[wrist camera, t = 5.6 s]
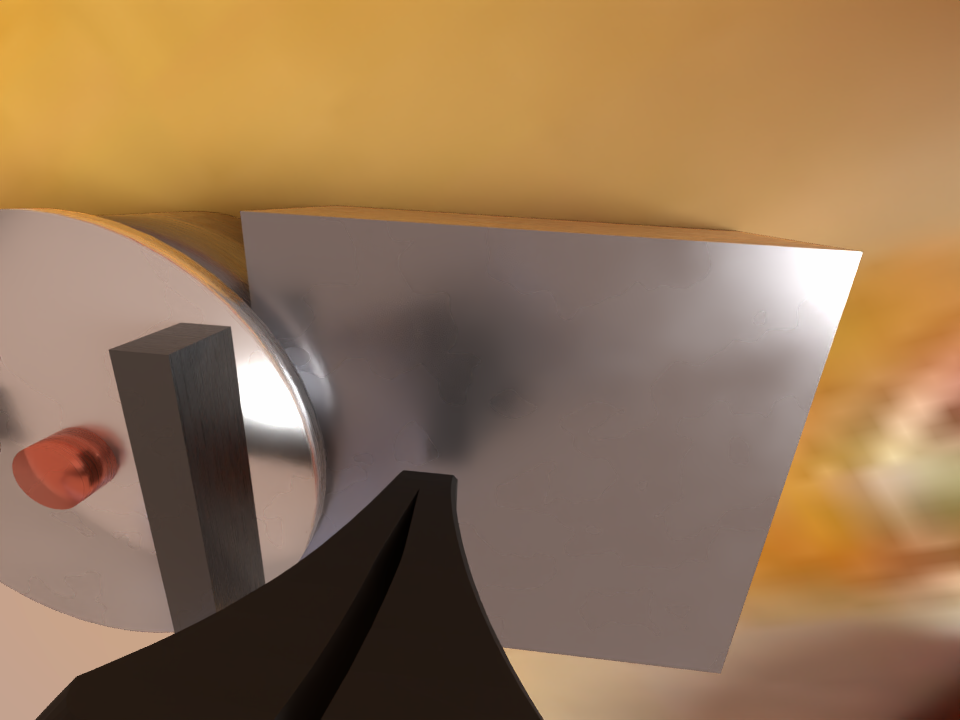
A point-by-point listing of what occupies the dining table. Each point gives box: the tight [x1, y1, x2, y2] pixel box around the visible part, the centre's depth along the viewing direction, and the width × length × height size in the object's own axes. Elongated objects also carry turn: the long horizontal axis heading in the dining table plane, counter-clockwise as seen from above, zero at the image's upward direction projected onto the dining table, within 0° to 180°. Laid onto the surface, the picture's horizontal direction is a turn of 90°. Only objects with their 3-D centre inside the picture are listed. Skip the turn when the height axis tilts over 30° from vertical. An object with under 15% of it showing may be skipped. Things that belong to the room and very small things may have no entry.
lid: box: [0, 208, 326, 633], centre depth 12 cm, size 13×13×3 cm
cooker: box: [97, 206, 863, 673], centre depth 15 cm, size 27×13×8 cm, turn 87°
